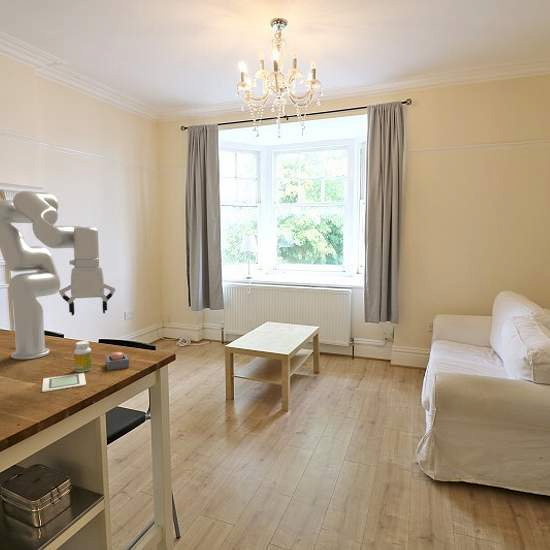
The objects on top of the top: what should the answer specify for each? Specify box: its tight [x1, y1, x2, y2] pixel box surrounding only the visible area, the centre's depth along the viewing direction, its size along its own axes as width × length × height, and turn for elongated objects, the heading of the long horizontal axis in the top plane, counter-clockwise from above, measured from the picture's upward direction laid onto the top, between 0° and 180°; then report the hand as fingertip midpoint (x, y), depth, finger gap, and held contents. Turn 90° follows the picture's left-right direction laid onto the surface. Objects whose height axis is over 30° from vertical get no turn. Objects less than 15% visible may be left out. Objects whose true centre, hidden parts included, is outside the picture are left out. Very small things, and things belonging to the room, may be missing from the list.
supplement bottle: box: [73, 340, 93, 373], centre depth 138 cm, size 5×5×10 cm
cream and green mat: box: [41, 372, 87, 393], centre depth 127 cm, size 11×12×1 cm
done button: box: [110, 351, 124, 361], centre depth 142 cm, size 4×4×2 cm
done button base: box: [105, 353, 130, 371], centre depth 143 cm, size 7×7×3 cm
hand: (88, 313), depth 136 cm, fingers open, 9 cm apart
